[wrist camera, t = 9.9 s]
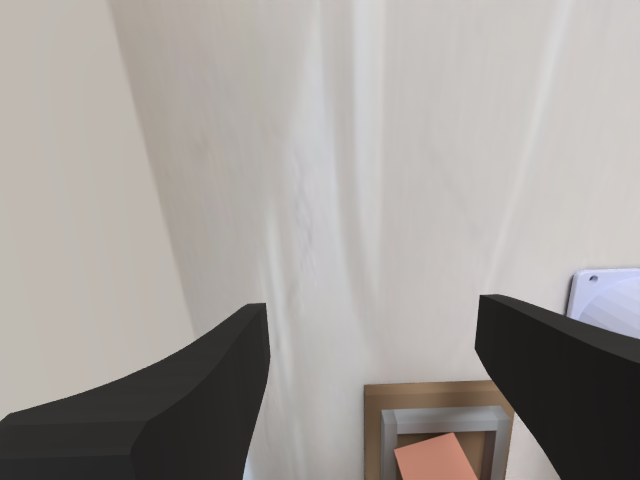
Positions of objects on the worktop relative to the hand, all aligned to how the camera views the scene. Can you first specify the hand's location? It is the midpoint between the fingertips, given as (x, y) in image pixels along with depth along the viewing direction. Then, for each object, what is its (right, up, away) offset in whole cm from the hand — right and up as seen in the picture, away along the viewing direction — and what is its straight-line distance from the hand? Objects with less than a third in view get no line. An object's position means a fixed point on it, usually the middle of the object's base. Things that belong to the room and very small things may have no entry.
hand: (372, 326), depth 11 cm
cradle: (+7, -15, +14) cm, 21 cm away
